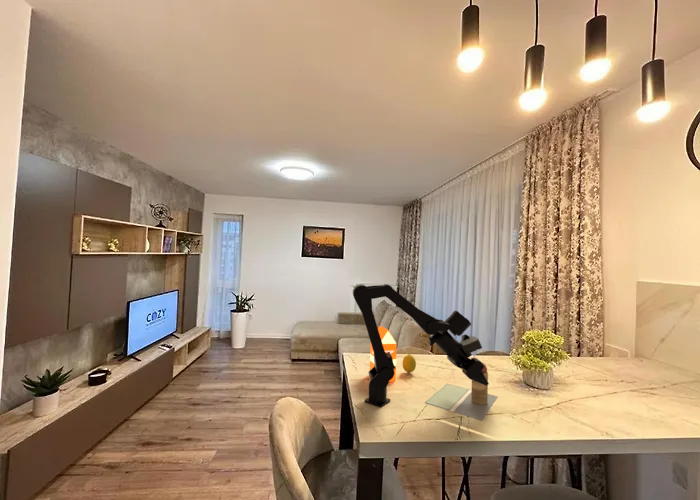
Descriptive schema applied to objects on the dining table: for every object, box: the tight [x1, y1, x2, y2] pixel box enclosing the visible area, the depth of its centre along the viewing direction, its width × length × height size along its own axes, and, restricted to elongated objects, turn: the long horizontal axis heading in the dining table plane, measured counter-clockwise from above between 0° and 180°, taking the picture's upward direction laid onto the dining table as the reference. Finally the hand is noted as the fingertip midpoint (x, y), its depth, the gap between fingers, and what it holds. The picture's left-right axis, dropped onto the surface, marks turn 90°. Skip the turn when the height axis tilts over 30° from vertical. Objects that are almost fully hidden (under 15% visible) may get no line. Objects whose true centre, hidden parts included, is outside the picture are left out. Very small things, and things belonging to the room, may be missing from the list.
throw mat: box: [424, 383, 499, 421], centre depth 108 cm, size 22×18×1 cm
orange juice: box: [369, 325, 398, 383], centre depth 128 cm, size 8×9×20 cm
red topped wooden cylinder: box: [471, 363, 489, 405], centre depth 107 cm, size 5×5×13 cm
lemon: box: [402, 354, 417, 374], centre depth 134 cm, size 6×6×8 cm
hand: (481, 379), depth 107 cm, fingers open, 9 cm apart
